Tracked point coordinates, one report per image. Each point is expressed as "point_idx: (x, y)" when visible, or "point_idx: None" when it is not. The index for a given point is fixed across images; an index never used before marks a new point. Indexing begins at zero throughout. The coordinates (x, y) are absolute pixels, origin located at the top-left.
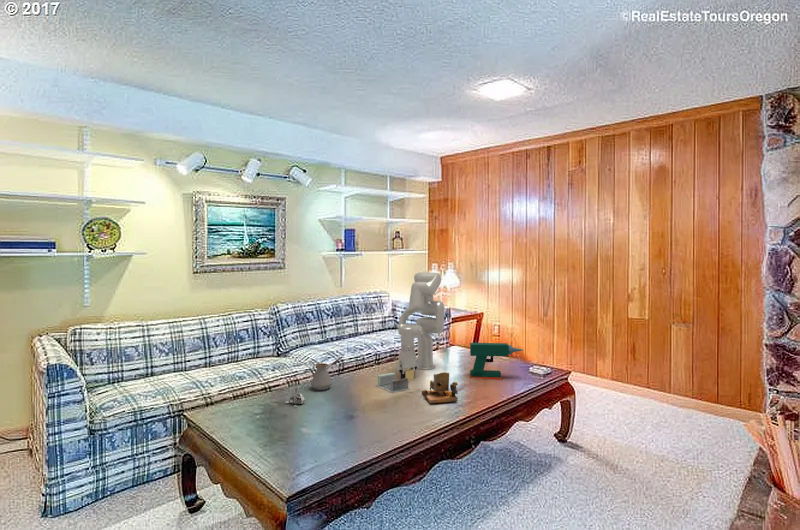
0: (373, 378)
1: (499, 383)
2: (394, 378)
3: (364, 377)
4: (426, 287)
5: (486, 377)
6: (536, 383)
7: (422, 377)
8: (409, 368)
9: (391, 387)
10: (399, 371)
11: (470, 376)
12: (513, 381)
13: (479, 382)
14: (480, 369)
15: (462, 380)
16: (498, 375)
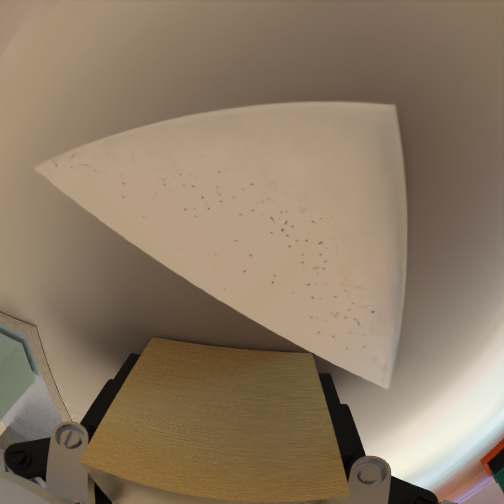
0: (7, 55)
1: (448, 500)
2: (8, 405)
3: (7, 11)
4: None
5: (487, 472)
6: (468, 496)
7: (444, 370)
8: (328, 501)
9: (3, 440)
10: (36, 448)
11: (492, 457)
12: (475, 486)
13: (442, 494)
14: (499, 485)
15: (452, 475)
16: (493, 477)
